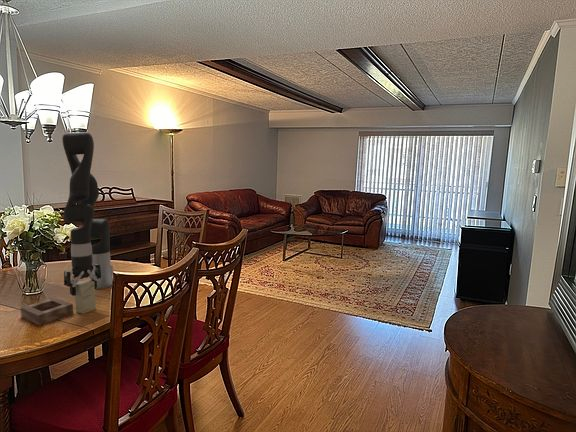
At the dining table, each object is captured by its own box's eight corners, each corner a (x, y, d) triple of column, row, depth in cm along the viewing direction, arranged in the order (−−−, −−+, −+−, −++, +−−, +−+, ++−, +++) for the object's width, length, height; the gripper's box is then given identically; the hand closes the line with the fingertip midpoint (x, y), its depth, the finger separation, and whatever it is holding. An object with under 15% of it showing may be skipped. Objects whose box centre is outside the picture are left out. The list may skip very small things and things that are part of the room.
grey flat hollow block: (55, 306, 161) (54, 297, 161) (73, 313, 155) (72, 304, 154) (21, 317, 150) (20, 307, 150) (39, 325, 144) (38, 315, 143)
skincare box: (82, 314, 154) (80, 285, 152) (75, 312, 156) (73, 283, 154) (96, 309, 160) (94, 281, 158) (89, 306, 162) (88, 279, 160)
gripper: (92, 249, 162) (94, 285, 164) (58, 255, 150) (61, 295, 152) (103, 251, 158) (105, 289, 161) (69, 258, 146) (72, 299, 148)
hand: (84, 292), depth 156 cm, fingers open, 8 cm apart
